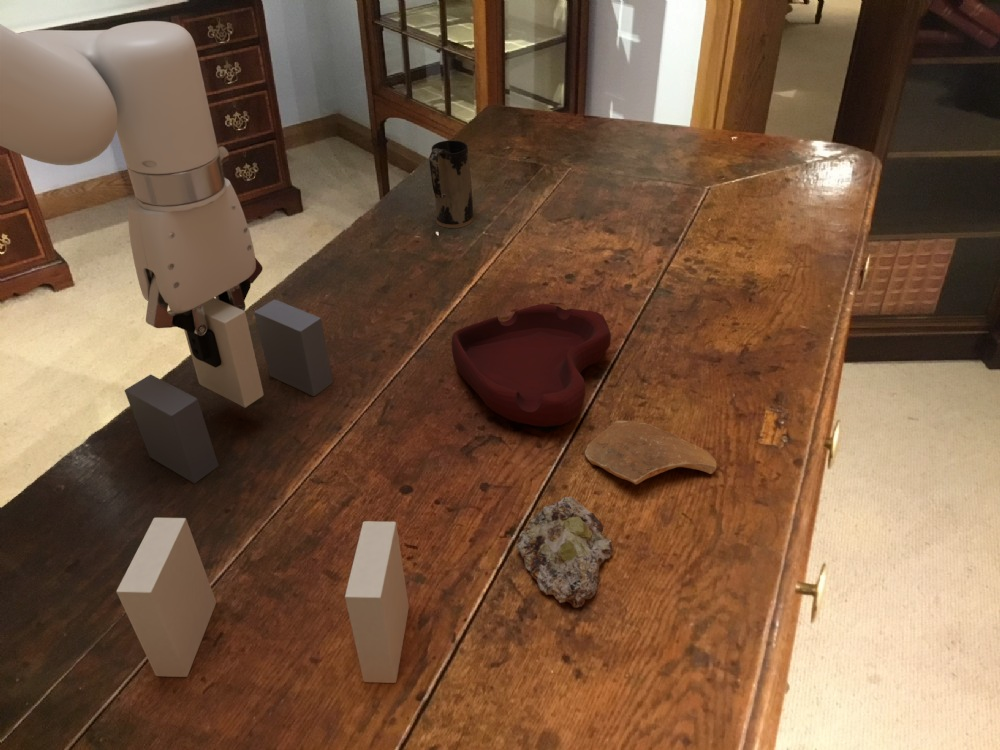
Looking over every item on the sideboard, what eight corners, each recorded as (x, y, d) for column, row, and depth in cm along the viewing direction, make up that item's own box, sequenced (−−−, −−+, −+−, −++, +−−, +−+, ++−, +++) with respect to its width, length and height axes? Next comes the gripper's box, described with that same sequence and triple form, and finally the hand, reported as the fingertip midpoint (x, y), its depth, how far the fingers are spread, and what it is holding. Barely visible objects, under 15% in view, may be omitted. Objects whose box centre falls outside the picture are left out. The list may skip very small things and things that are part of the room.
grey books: (149, 457, 85) (123, 390, 80) (288, 362, 97) (274, 299, 92) (194, 484, 82) (171, 415, 76) (333, 382, 94) (321, 317, 89)
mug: (446, 208, 128) (440, 130, 120) (479, 213, 126) (475, 135, 119) (422, 231, 122) (414, 151, 115) (457, 237, 120) (451, 156, 113)
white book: (199, 384, 87) (175, 300, 82) (218, 372, 89) (196, 289, 83) (245, 408, 84) (224, 323, 78) (264, 395, 86) (245, 310, 80)
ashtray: (482, 325, 102) (480, 289, 99) (616, 349, 97) (618, 312, 94) (421, 416, 89) (417, 378, 86) (573, 448, 84) (574, 409, 81)
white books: (155, 676, 65) (115, 591, 59) (187, 601, 70) (153, 517, 64) (396, 683, 64) (380, 597, 58) (409, 606, 69) (396, 521, 63)
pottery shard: (721, 470, 81) (725, 450, 79) (656, 517, 76) (658, 497, 75) (639, 417, 87) (641, 398, 86) (574, 458, 83) (575, 438, 81)
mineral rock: (507, 499, 75) (595, 476, 74) (521, 529, 78) (606, 508, 77) (516, 600, 67) (615, 576, 66) (532, 630, 70) (627, 608, 68)
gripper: (223, 140, 80) (258, 307, 91) (67, 201, 70) (128, 381, 80) (278, 157, 77) (308, 328, 88) (123, 224, 66) (179, 409, 77)
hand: (221, 352), depth 84 cm, fingers closed on white book, 2 cm apart
